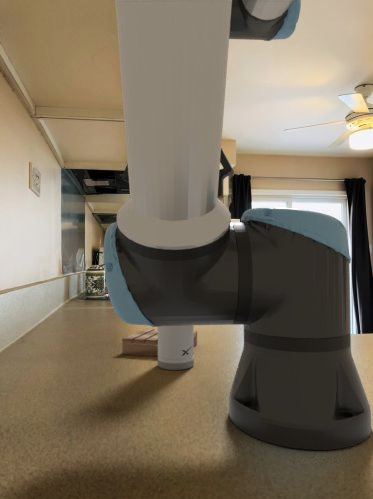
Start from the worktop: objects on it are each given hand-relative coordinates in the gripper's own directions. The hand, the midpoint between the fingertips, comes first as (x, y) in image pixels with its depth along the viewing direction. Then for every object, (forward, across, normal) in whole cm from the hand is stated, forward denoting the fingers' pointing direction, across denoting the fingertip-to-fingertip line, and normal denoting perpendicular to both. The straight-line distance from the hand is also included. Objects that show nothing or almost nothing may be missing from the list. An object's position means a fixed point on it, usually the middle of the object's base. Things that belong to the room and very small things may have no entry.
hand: (176, 218), depth 65 cm
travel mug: (+26, 0, 0) cm, 26 cm away
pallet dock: (+26, +7, -11) cm, 29 cm away
